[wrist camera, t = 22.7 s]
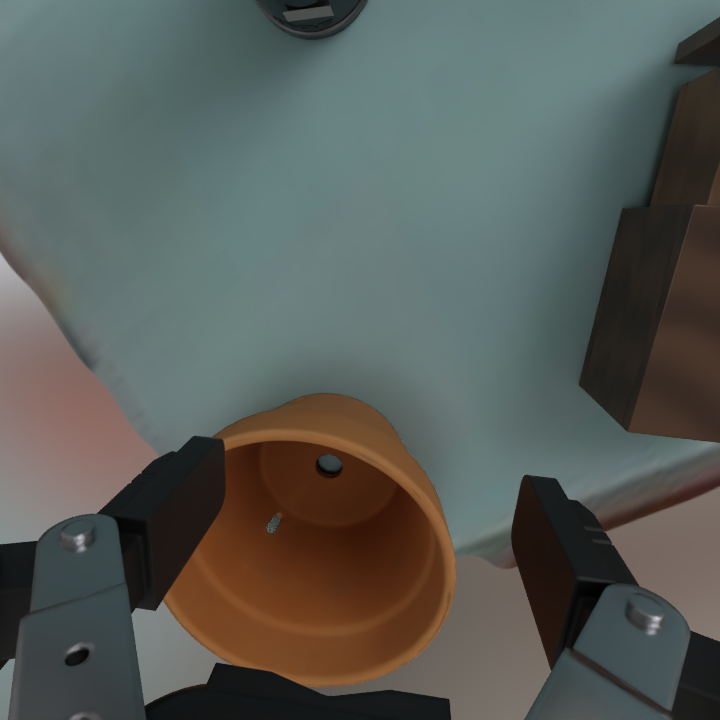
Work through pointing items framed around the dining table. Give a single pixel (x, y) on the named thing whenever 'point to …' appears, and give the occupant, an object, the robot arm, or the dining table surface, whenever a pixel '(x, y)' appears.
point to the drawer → (694, 129)
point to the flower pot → (319, 549)
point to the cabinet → (660, 324)
